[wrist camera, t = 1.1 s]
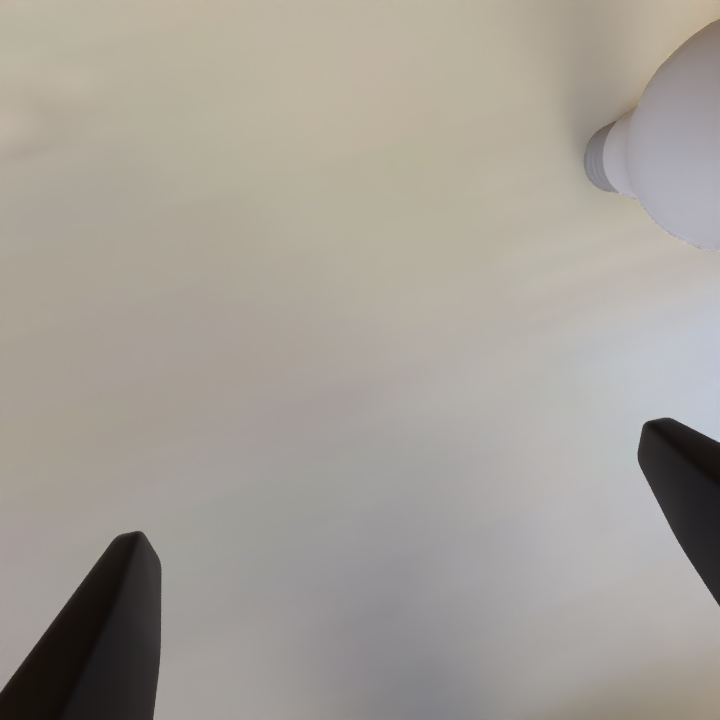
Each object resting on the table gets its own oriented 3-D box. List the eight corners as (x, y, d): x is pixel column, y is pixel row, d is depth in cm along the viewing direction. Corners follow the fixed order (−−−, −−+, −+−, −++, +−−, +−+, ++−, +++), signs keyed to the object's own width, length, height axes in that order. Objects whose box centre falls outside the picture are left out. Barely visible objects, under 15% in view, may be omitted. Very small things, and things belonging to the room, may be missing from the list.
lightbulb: (666, 53, 22) (1001, -91, 11) (689, 211, 24) (999, 215, 13) (514, 103, 22) (705, 6, 11) (548, 257, 24) (742, 299, 13)
